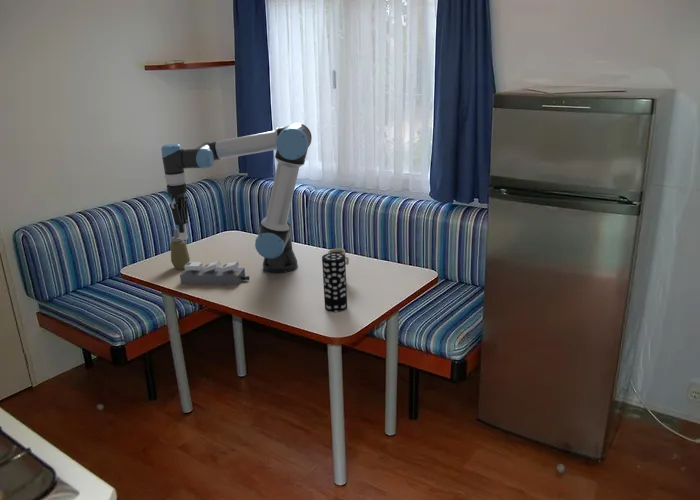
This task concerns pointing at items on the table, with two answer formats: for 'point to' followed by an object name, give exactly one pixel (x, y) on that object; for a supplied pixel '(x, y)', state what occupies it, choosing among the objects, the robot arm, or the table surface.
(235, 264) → the plate
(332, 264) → the spotted tube
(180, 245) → the squeeze bottle
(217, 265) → the block
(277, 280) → the table surface
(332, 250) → the character mug
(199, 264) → the plate
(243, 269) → the switch strip
